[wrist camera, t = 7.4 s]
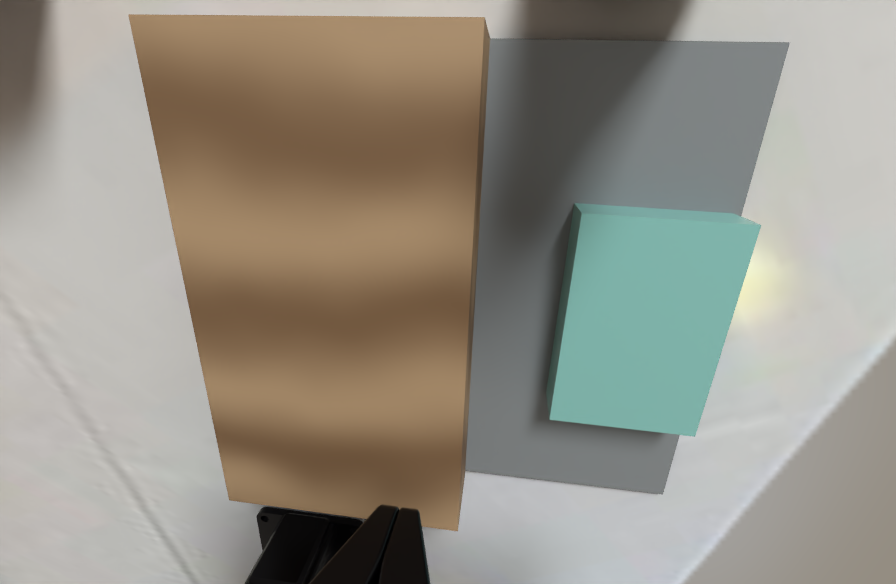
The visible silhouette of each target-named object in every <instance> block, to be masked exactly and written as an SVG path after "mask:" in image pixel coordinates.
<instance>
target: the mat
mask: <svg viewBox="0 0 896 584" xmlns="http://www.w3.org/2000/svg"><path fill="white" fill-rule="evenodd" d="M788 47H789V43H787V42H712V41H636V40H560V39H490V48H489V66H488V83H487V101H486V118H485V136H484V153H483V171H482V188H481V205H480V223H479V240H478V258H477V275H476V293H475V310H474V328H473V345H472V362H471V380H470V397H469V415H468V432H467V450H466V467H465V471H473V472H481V473H490V474H498V475H506V476H515V477H523V478H531V479H539V480H548V481H556V482H564V483H573V484H581V485H589V486H597V487H606V488H614V489H622V490H631V491H639V492H647V493H655V494H663V492H664V488H665V485H666V481H667V478H668V474H669V471H670V467H671V464H672V460H673V456H674V453H675V449H676V446H677V442H678V439H679V435H677V434H669V433H660V432H651V431H643V430H634V429H625V428H617V427H608V426H600V425H591V424H582V423H574V422H565V421H556V420H549V412H548V405H547V397H546V390H547V383H548V376H549V370H550V363H551V356H552V349H553V343H554V336H555V329H556V322H557V316H558V309H559V302H560V296H561V289H562V282H563V275H564V269H565V262H566V255H567V249H568V242H569V235H570V228H571V222H572V215H573V208H574V203H580V204H596V205H611V206H627V207H643V208H658V209H674V210H689V211H705V212H720V213H734V214H736V215H739V216H741V214H742V211H743V207H744V204H745V200H746V197H747V193H748V189H749V186H750V182H751V179H752V175H753V172H754V168H755V164H756V161H757V157H758V154H759V150H760V147H761V143H762V140H763V136H764V132H765V129H766V125H767V122H768V118H769V115H770V111H771V108H772V104H773V100H774V97H775V93H776V90H777V86H778V83H779V79H780V75H781V72H782V68H783V65H784V61H785V58H786V54H787V51H788Z"/></svg>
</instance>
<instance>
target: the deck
mask: <svg viewBox="0 0 896 584" xmlns="http://www.w3.org/2000/svg"><path fill="white" fill-rule="evenodd" d="M129 20H130V24H131V29H132V34H133V39H134V44H135V48H136V53H137V58H138V63H139V68H140V73H141V77H142V82H143V87H144V92H145V97H146V101H147V106H148V111H149V116H150V121H151V125H152V130H153V135H154V140H155V145H156V150H157V154H158V159H159V164H160V169H161V174H162V178H163V183H164V188H165V193H166V198H167V203H168V207H169V212H170V217H171V222H172V227H173V231H174V236H175V241H176V246H177V251H178V255H179V260H180V265H181V270H182V275H183V280H184V284H185V289H186V294H187V299H188V304H189V308H190V313H191V318H192V323H193V328H194V332H195V337H196V342H197V347H198V352H199V357H200V361H201V366H202V371H203V376H204V381H205V385H206V390H207V395H208V400H209V405H210V410H211V414H212V419H213V424H214V429H215V434H216V438H217V443H218V448H219V453H220V458H221V462H222V467H223V472H224V477H225V482H226V487H227V491H228V496H229V500H232V501H239V502H246V503H254V504H261V505H268V506H276V507H283V508H290V509H298V510H305V511H312V512H320V513H327V514H335V515H342V516H349V517H357V518H364V519H367V518H368V517H369V516H370V515H371V514H372V513H373V512H374V510H375V509H376V508H377V507H378V506H379V505H382V504H385V505H392V506H397V507H398V508H399V509H400V508H402V507H406V508H413V509H418V510H419V512H420V518H421V525H422V526H423V527H430V528H437V529H445V530H452V531H458V524H459V517H460V509H461V501H462V493H463V485H464V477H465V467H466V450H467V432H468V415H469V397H470V380H471V362H472V345H473V328H474V310H475V293H476V275H477V258H478V240H479V223H480V205H481V188H482V171H483V153H484V136H485V118H486V101H487V83H488V66H489V48H490V36H489V33H488V29H487V25H486V21H485V17H371V16H246V15H129Z"/></svg>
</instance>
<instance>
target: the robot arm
mask: <svg viewBox="0 0 896 584" xmlns="http://www.w3.org/2000/svg"><path fill="white" fill-rule="evenodd" d="M257 522H258V527H259V533H260V538H261V544H262V550H263V552H262V553H261V555H260V557H259V559H258V560H257V562H256V564H255V566H254V567H253V569H252V571H251V573H250V574H249V576H248V578H247V580H246V582H245V584H430V578H429V572H428V565H427V558H426V552H425V545H424V538H423V532H422V525H421V518H420V512H419V510H418V509H413V508H406V507H402V508H400V509H399V508H398V507H397V506H392V505H385V504H382V505H379V506H378V507H377V508H376V509H375V510H374V512H373V513H372V514H371V515H370V516H369V517H368V518H367V519H366V520H365V522H364V523H362V522H361V521H359V520H357V519H350V518H343V517H335V516H328V515H321V514H314V513H306V512H299V511H292V510H284V509H277V508H270V507H263V508H262V509H261V510H260V511H259V513H258V515H257Z"/></svg>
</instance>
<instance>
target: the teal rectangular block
mask: <svg viewBox="0 0 896 584" xmlns="http://www.w3.org/2000/svg"><path fill="white" fill-rule="evenodd" d="M760 227H761V225H759V224H757V223H755V222H752V221H750V220H748V219H746V218H743V217H741V216H739V215H736V214H734V213H720V212H705V211H689V210H674V209H658V208H643V207H627V206H611V205H596V204H580V203H574V208H573V215H572V222H571V228H570V235H569V242H568V249H567V255H566V262H565V269H564V275H563V282H562V289H561V296H560V302H559V309H558V316H557V322H556V329H555V336H554V343H553V349H552V356H551V363H550V370H549V376H548V383H547V390H546V397H547V405H548V412H549V420H556V421H565V422H574V423H582V424H591V425H600V426H608V427H617V428H625V429H634V430H643V431H651V432H660V433H669V434H677V435H686V436H695V435H696V431H697V428H698V425H699V422H700V419H701V415H702V412H703V409H704V406H705V403H706V400H707V396H708V393H709V390H710V387H711V384H712V380H713V377H714V374H715V371H716V368H717V364H718V361H719V358H720V355H721V352H722V348H723V345H724V342H725V339H726V336H727V333H728V329H729V326H730V323H731V320H732V317H733V313H734V310H735V307H736V304H737V301H738V297H739V294H740V291H741V288H742V285H743V281H744V278H745V275H746V272H747V269H748V266H749V262H750V259H751V256H752V253H753V250H754V246H755V243H756V240H757V237H758V234H759V230H760Z"/></svg>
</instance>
